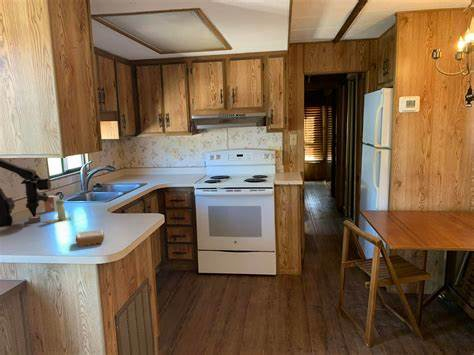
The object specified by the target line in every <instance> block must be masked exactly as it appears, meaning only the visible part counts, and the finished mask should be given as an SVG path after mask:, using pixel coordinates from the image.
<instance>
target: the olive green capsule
mask: <svg viewBox="0 0 474 355" xmlns="http://www.w3.org/2000/svg"><path fill="white" fill-rule="evenodd" d="M56 204H57V211H56V213H57V217H58V218H57V219H58V220H59V221H61V220H66V218H67V215H66V210H65V199H59V200H56Z"/></svg>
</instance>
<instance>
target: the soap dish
mask: <svg viewBox="0 0 474 355" xmlns="http://www.w3.org/2000/svg"><path fill="white" fill-rule="evenodd" d="M104 240H105V233H104V231H103V229H95V230H88V231H85V230H84V231H80V232H79V231H78V232H77V233H76V235H75V243H76V245H77V246H78V247H79V246H81V247H86V246H85V245H88V246H92V245H91V244H94V245H97V244H96V243H102V242H104ZM102 244H103V243H102Z"/></svg>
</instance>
